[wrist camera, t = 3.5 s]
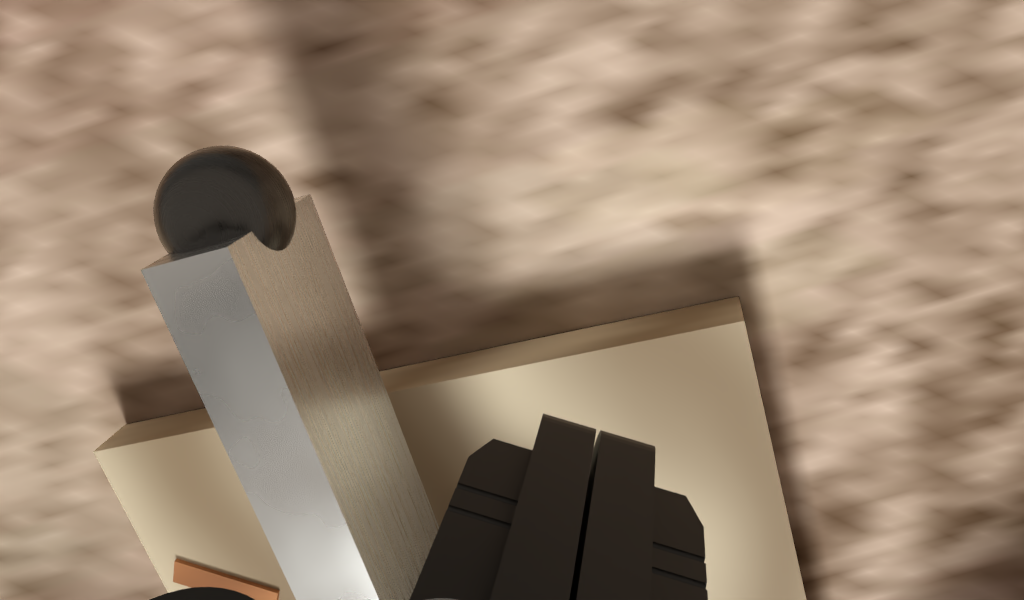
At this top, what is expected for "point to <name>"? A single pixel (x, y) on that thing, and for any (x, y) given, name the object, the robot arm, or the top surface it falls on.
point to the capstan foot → (288, 377)
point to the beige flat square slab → (512, 419)
